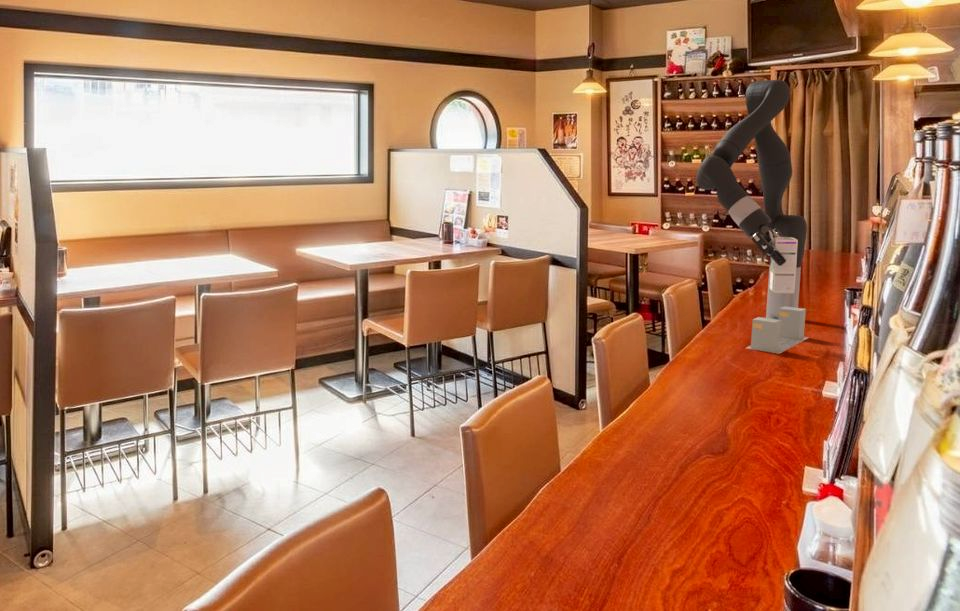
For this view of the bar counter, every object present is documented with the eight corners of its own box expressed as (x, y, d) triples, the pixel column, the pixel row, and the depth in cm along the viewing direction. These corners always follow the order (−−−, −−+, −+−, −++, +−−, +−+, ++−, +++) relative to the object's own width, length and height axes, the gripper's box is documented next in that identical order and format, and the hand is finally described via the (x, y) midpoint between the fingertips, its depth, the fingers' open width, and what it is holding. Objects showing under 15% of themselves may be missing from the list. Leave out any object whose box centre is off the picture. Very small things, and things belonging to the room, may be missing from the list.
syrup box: (795, 293, 199) (799, 239, 196) (771, 293, 200) (775, 238, 198) (790, 290, 205) (795, 237, 202) (767, 289, 206) (771, 236, 203)
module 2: (782, 333, 216) (784, 306, 214) (803, 336, 212) (805, 308, 210) (777, 336, 213) (779, 308, 211) (798, 339, 209) (800, 311, 207)
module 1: (756, 346, 202) (758, 317, 200) (779, 349, 198) (781, 320, 196) (750, 349, 199) (752, 319, 197) (773, 352, 195) (775, 322, 193)
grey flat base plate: (776, 336, 217) (776, 332, 217) (808, 341, 211) (809, 337, 211) (744, 352, 200) (745, 348, 200) (778, 358, 194) (779, 353, 194)
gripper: (749, 208, 198) (790, 255, 193) (769, 205, 208) (809, 250, 203) (728, 227, 202) (768, 274, 197) (749, 223, 213) (787, 268, 208)
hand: (788, 262), depth 200 cm, fingers closed on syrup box, 8 cm apart
